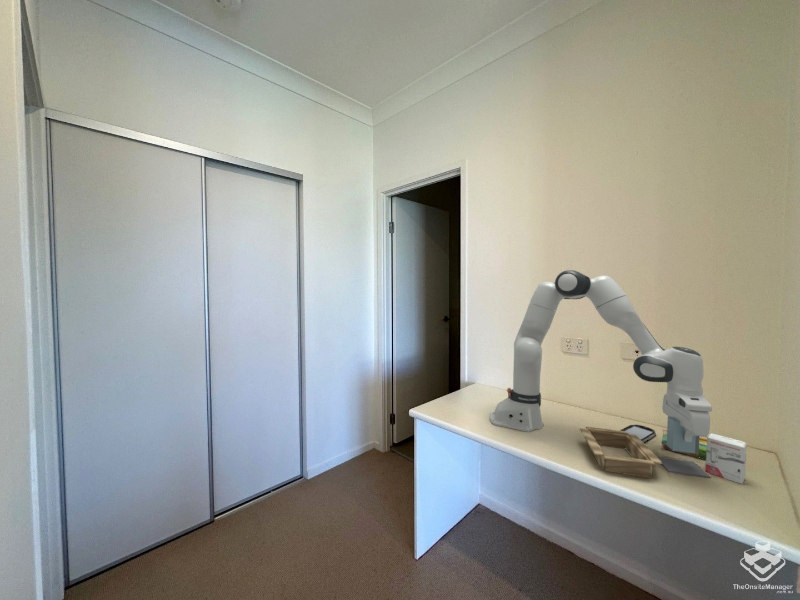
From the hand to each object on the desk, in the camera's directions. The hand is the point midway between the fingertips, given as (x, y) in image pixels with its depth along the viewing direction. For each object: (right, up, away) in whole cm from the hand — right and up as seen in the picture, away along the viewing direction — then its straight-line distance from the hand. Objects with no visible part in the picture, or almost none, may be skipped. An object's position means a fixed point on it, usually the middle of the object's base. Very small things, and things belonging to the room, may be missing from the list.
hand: (682, 437), depth 106 cm
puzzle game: (+15, -11, +10) cm, 21 cm away
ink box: (+10, -11, -4) cm, 15 cm away
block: (0, -4, 0) cm, 4 cm away
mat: (0, -10, 0) cm, 10 cm away
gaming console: (+2, -10, +23) cm, 25 cm away
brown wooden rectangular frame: (-18, -10, +6) cm, 22 cm away
